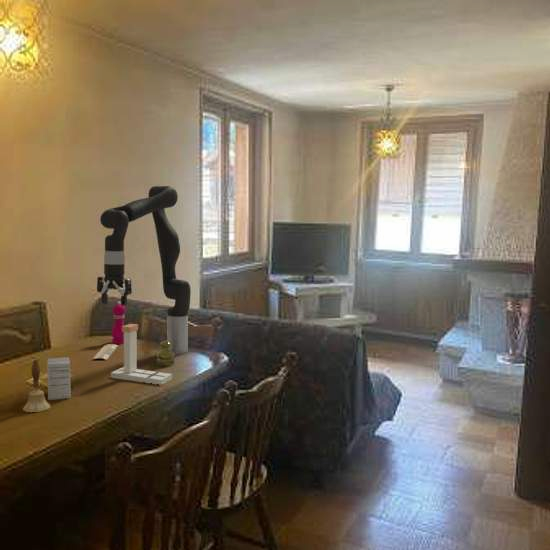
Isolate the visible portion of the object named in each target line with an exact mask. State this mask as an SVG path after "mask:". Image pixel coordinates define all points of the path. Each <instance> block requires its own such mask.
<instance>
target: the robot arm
mask: <svg viewBox="0 0 550 550" xmlns="http://www.w3.org/2000/svg"><path fill="white" fill-rule="evenodd" d="M178 197H179V195H178V192H177V190H176V189H175V187H173V186H169V185H157V186H151V188H150V189H149V191H148V197H145V198H140V199H135V200H132V201H131V202H128V203H126V204H124V205H120V206H116V207H111V208H108V209H106V210H105V211H103V212H102V214H101V215H100V219H99V220H100V224H101V225H102V226H103V228H105V229H113V230H112V234H109V235H106V237H104V255H103V274H104V276H98V277H97V279H96V280H97V282H96V283H97V285H96V292H97V293H100V294H101V303H102V304H103V305H105V304H108V292H109V291H110V290H117V292H119V294H120V295H121V296H120V302H121V304H120V305H121V306H124V307H125V306H126V305H127V303H128V295H132V293H133V292H132V278H124V275H125V238H126V235H127V231H128V227H129V223H132V222H135V221H136V220H138V219H140V218H142V217H144V216H146V215H150V214H152V218H153V222H154V227H155V233H156V240H157V246H158V251H159V252H158V253H159V257H160V263H161V265H160V266H161V273H162V275H161V276H162V288H163V293H164V296H165V298H166V299H169V300H173V301H174V306H171V307H169V308H167V312H166V313H167V314H166V316H167V317H166V319H167V321H166V322H167V323H166V324H167V325H166V331H167V333H166V340H167V341H169V342H171V343H172V345H171V346H170V347H169V349H170V350H171V351H172V352H174V353H175V355H183V354H187V353H188V351H189V350H188V348H189V347H188V343H189V342H188V341H189V329H188V328H189V326H188V325H189V310H190V305H191V292H192V291H191V289H192V288H191V284H190V283H189V281H186V280H183V279H177V276H176V275H177V274H176V264H177V262H178V259H179V257H180V254H181V244H180V239H179V235H178V233H177V231H176V229H175V228H174V227H173V225H172V224H171V223H170V221H169V219H168V217H167V215H166V211H165V209H169V208H172V207H174V206H175V205H176V204H177V202H178V199H179V198H178ZM104 283H105V284H104Z"/></svg>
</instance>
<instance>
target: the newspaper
mask: <svg viewBox="0 0 550 550" xmlns="http://www.w3.org/2000/svg"><path fill="white" fill-rule="evenodd" d="M116 347H117V348H118V344H114V343H109V344H104V345H103V347H102V348H101V349H100V350H98V352H97V353H96V354H95V356H93V358H92V359H91V361H94V360H97V359H103V360H105V361H107V360H108V359H109V358H110V356H112V354H113V353H114V351H115V350H116V349H117V348H116Z"/></svg>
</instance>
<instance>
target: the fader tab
mask: <svg viewBox="0 0 550 550" xmlns="http://www.w3.org/2000/svg"><path fill="white" fill-rule="evenodd" d="M138 330H139V324H137V323H128V324H126V325H125V324H124V326H122V332H124V343H123V367H124V372H127V373H131V372H133V371H135V370H137V369H138V367H137V364H138V362H137V360H138V359H137V358H138V357H137V355H138V353H137V344H138V343H137V342H138V341H137V339H138V338H137V336H138V335H137V331H138Z"/></svg>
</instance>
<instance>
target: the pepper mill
mask: <svg viewBox="0 0 550 550" xmlns="http://www.w3.org/2000/svg"><path fill="white" fill-rule="evenodd" d="M112 313H113V318H114V323H113V326H112V329H111V337H112V339H111V340H112V341H111V342H112V343H111V344H115V345H122V343H123V344H124V332H122V326H125V323H124V319H125V313H126V306H125V305H124V306H121V300H119V301H117V303H116V304H115V305H114V306H113V307H112Z"/></svg>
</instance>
